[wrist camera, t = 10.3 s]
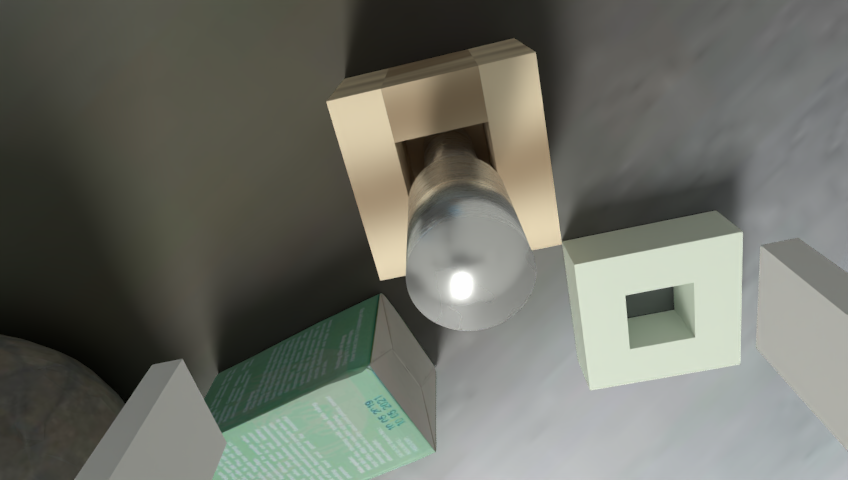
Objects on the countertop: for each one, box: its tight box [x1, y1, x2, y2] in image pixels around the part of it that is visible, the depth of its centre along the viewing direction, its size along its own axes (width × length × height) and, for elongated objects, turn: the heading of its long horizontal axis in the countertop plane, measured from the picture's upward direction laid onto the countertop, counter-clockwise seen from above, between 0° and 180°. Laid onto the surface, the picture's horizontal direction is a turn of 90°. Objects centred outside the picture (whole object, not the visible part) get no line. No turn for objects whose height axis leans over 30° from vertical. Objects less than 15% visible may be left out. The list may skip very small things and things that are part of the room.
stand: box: [562, 210, 743, 391], centre depth 33 cm, size 9×9×3 cm
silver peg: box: [406, 128, 536, 331], centre depth 23 cm, size 4×4×14 cm
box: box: [204, 293, 436, 480], centre depth 34 cm, size 7×14×8 cm, turn 120°
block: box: [326, 38, 562, 281], centre depth 28 cm, size 9×9×6 cm
